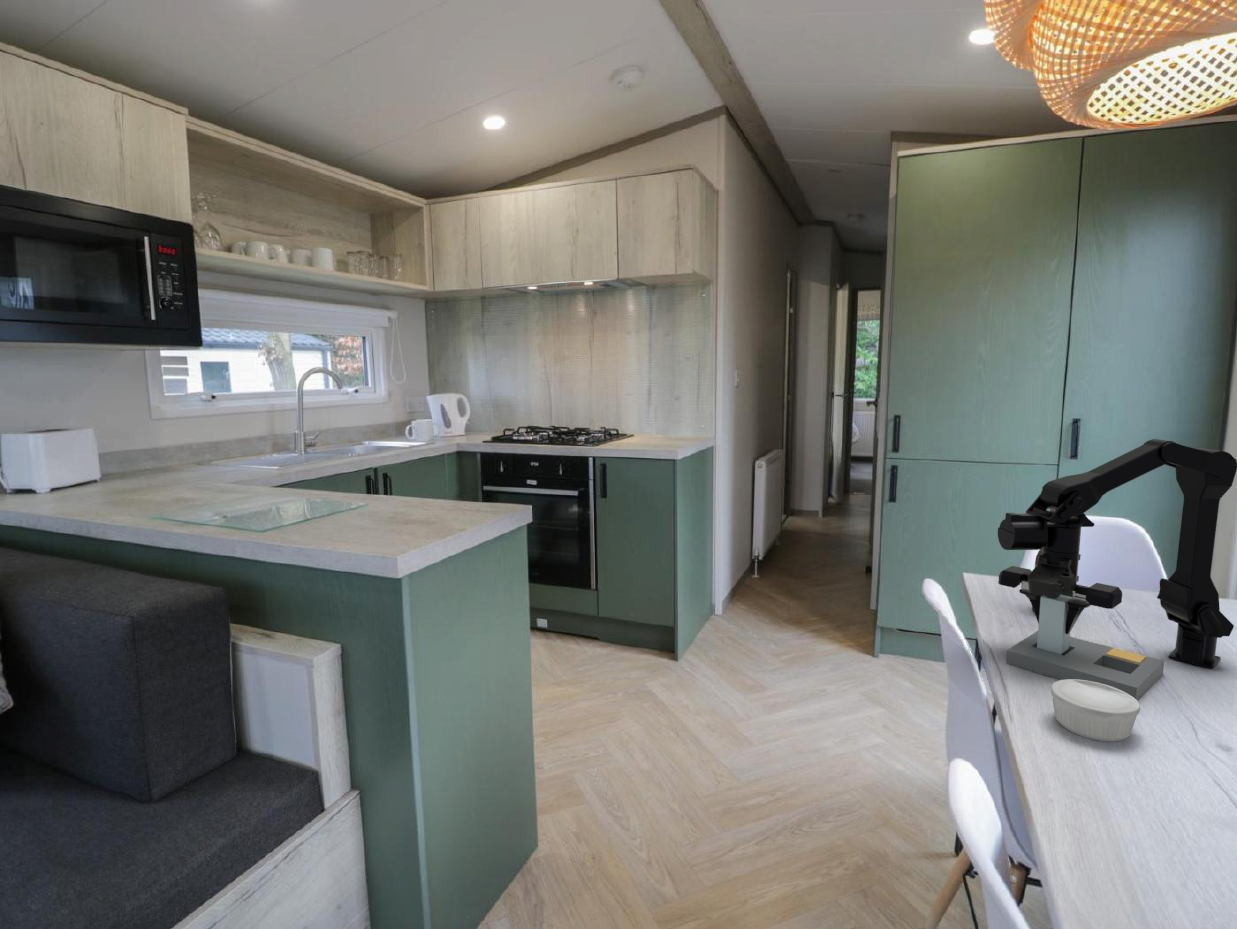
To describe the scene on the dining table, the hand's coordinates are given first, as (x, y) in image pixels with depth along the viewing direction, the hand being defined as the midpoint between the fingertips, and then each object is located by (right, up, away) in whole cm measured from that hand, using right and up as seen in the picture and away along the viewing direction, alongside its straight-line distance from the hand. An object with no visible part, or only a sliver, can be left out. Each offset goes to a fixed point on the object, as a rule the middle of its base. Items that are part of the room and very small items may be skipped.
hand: (1054, 630), depth 128 cm
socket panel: (+3, -6, -3) cm, 8 cm away
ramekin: (-9, -10, -23) cm, 26 cm away
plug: (0, -4, +1) cm, 4 cm away
